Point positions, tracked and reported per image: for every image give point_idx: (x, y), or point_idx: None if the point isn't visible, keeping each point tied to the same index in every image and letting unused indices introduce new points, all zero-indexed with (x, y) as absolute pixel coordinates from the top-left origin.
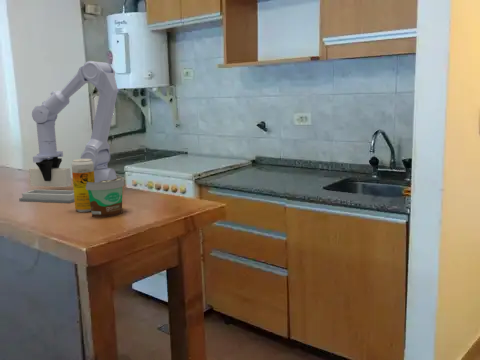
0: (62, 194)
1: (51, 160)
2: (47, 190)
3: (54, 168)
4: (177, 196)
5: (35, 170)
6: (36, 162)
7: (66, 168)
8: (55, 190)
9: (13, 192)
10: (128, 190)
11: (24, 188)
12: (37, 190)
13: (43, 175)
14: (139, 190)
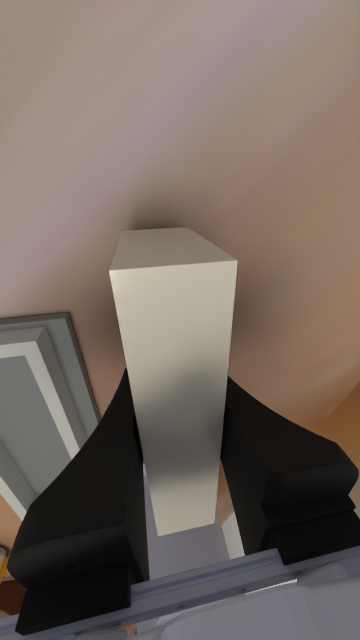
0: (13, 501)
1: (256, 521)
2: (50, 412)
3: (194, 470)
4: None
5: (124, 347)
6: (13, 549)
7: (202, 517)
8: (65, 441)
9: (74, 43)
10: (227, 499)
11: (246, 27)
12: (31, 364)
13: (117, 397)
14: (229, 512)
